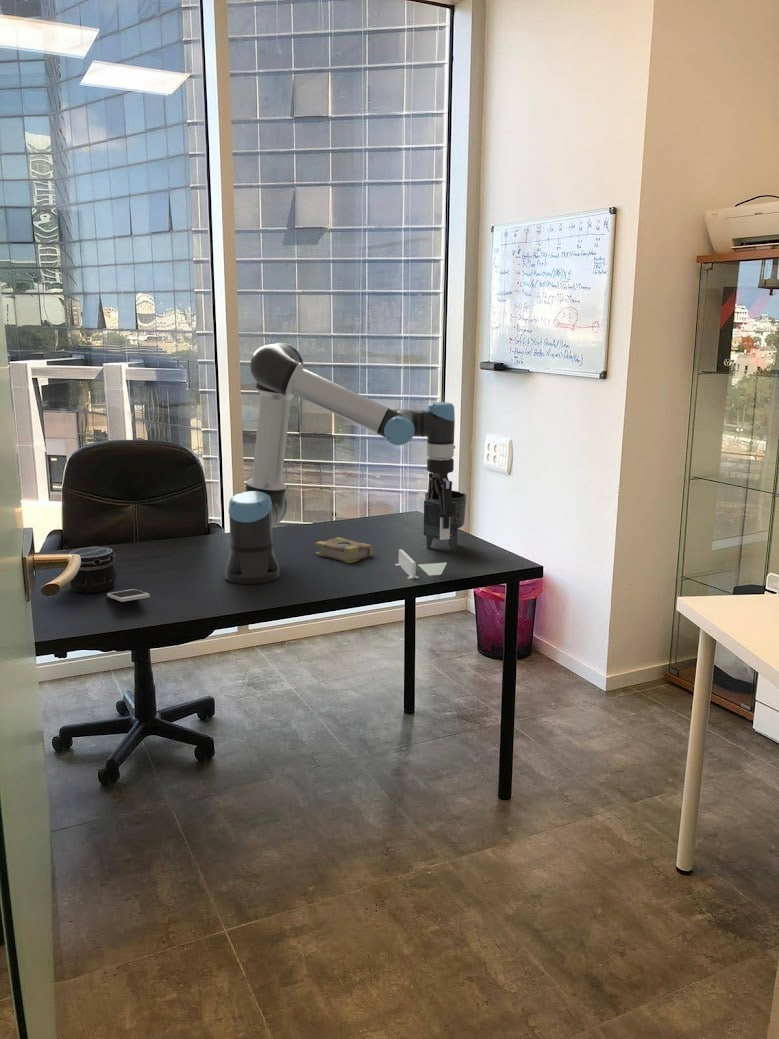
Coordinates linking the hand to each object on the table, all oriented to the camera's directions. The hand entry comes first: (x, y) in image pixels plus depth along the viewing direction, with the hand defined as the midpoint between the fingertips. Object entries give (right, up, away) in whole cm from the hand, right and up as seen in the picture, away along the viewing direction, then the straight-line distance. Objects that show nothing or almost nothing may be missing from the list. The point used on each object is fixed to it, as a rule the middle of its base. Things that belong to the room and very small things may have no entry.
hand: (439, 534), depth 249 cm
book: (-28, -7, +17) cm, 34 cm away
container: (-95, -14, -14) cm, 97 cm away
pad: (0, -10, +3) cm, 11 cm away
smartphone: (-78, -17, -33) cm, 86 cm away
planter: (+3, -5, +25) cm, 25 cm away
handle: (-9, -11, 0) cm, 14 cm away
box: (0, -1, 0) cm, 1 cm away
